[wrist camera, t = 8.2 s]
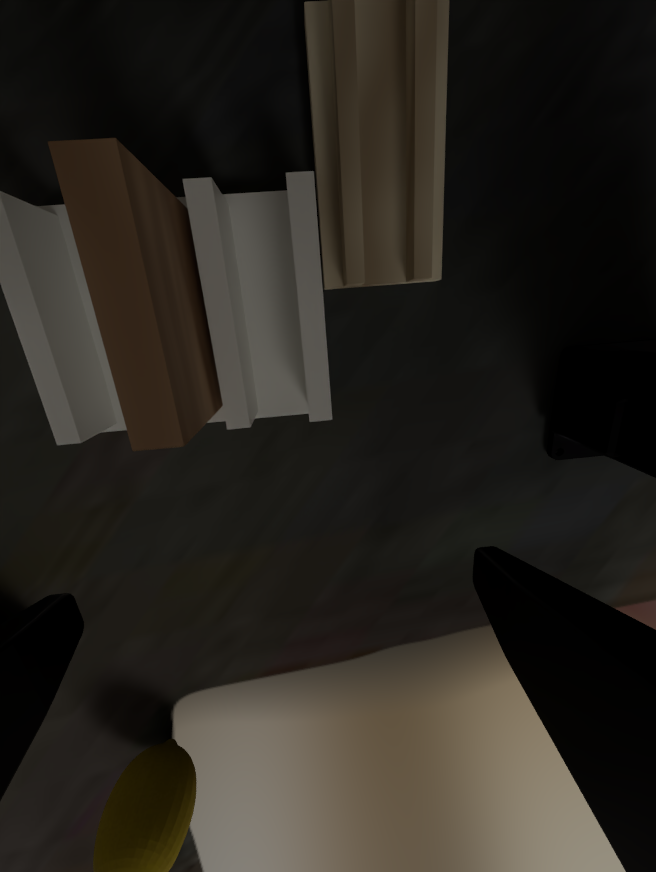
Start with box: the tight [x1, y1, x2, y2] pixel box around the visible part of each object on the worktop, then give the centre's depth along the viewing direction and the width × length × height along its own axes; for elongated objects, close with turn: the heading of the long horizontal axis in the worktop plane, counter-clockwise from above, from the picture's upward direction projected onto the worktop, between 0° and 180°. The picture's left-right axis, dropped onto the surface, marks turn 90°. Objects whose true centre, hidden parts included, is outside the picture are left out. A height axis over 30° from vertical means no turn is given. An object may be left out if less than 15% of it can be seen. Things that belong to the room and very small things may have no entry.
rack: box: [0, 171, 332, 445], centre depth 15 cm, size 12×10×4 cm
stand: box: [304, 0, 449, 290], centre depth 14 cm, size 6×10×2 cm, turn 4°
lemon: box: [93, 739, 196, 872], centre depth 22 cm, size 6×6×8 cm
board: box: [48, 138, 223, 451], centre depth 13 cm, size 2×8×7 cm, turn 4°
